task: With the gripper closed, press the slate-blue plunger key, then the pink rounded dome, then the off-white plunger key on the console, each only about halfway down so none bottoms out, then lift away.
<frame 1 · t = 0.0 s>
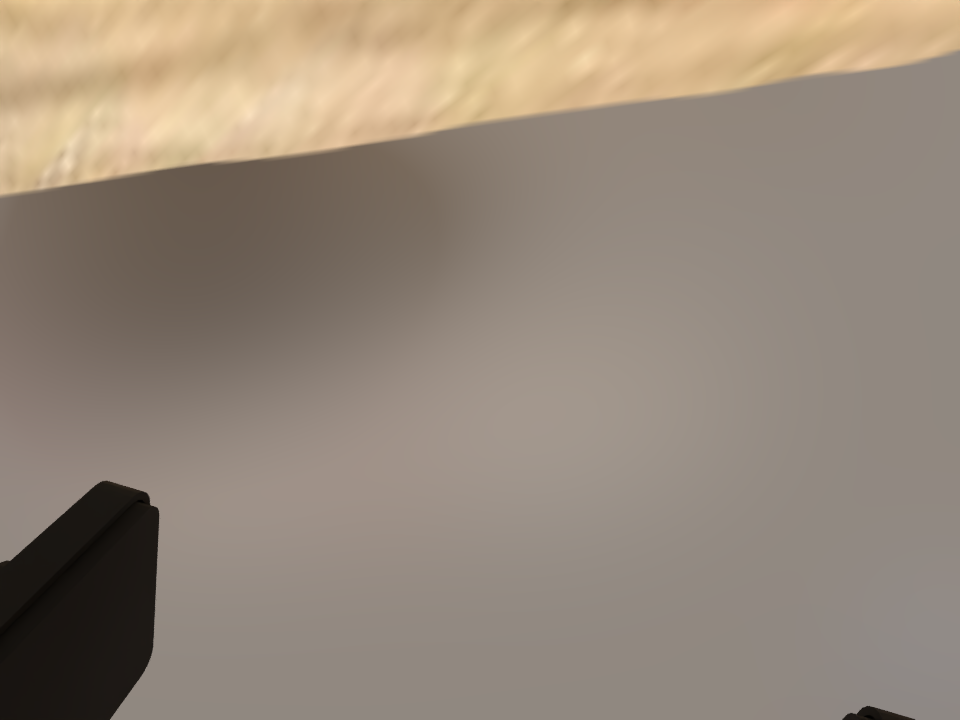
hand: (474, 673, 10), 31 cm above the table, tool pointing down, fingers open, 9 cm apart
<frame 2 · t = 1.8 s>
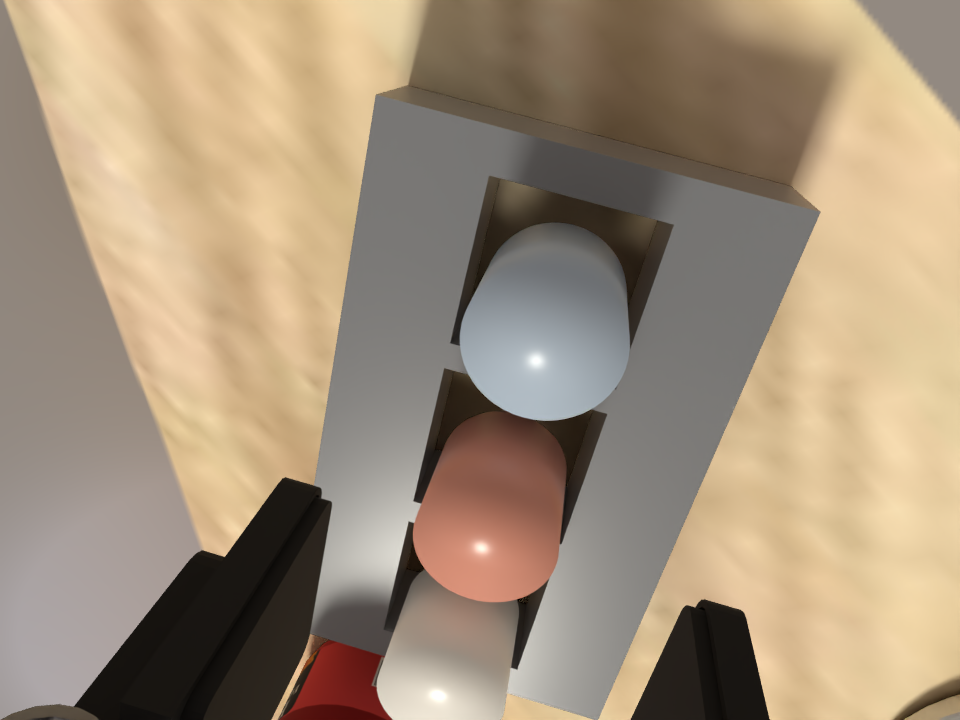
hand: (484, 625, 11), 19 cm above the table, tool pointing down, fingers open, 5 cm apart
pink rounded dome: (494, 502, 25), point 7 cm above the table, slide at 0.0 cm
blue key: (549, 316, 22), point 7 cm above the table, slide at 0.0 cm
white key: (452, 648, 28), point 7 cm above the table, slide at 0.0 cm
canned food: (380, 679, 39), on the table
console: (517, 410, 31), on the table
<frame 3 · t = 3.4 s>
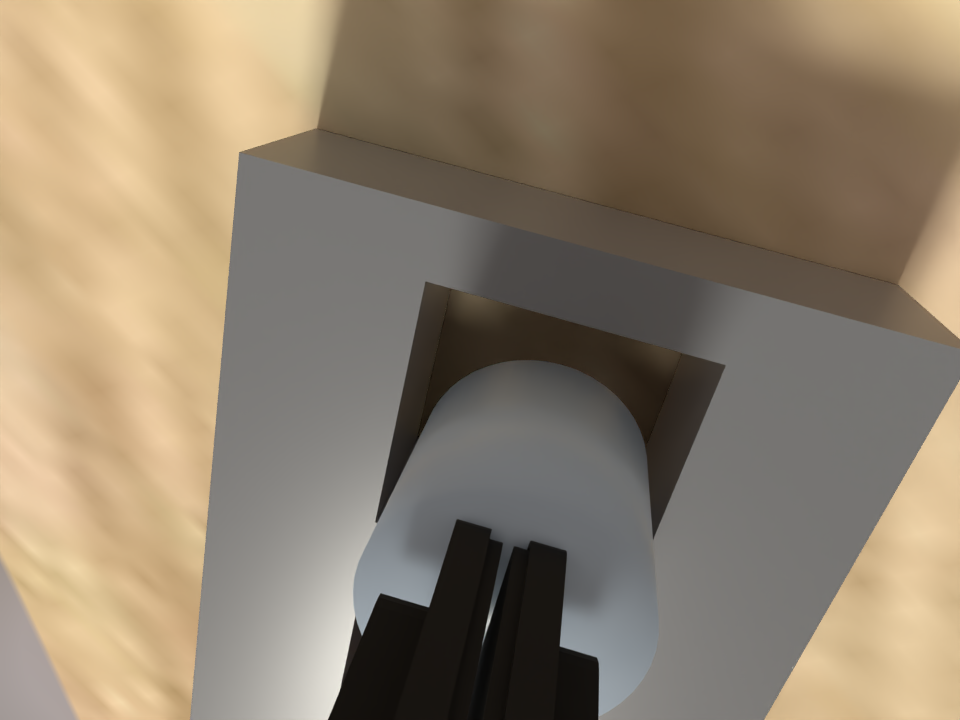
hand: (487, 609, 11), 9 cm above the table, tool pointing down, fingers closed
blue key: (518, 529, 13), point 7 cm above the table, slide at 0.0 cm, touching gripper
console: (487, 576, 22), on the table
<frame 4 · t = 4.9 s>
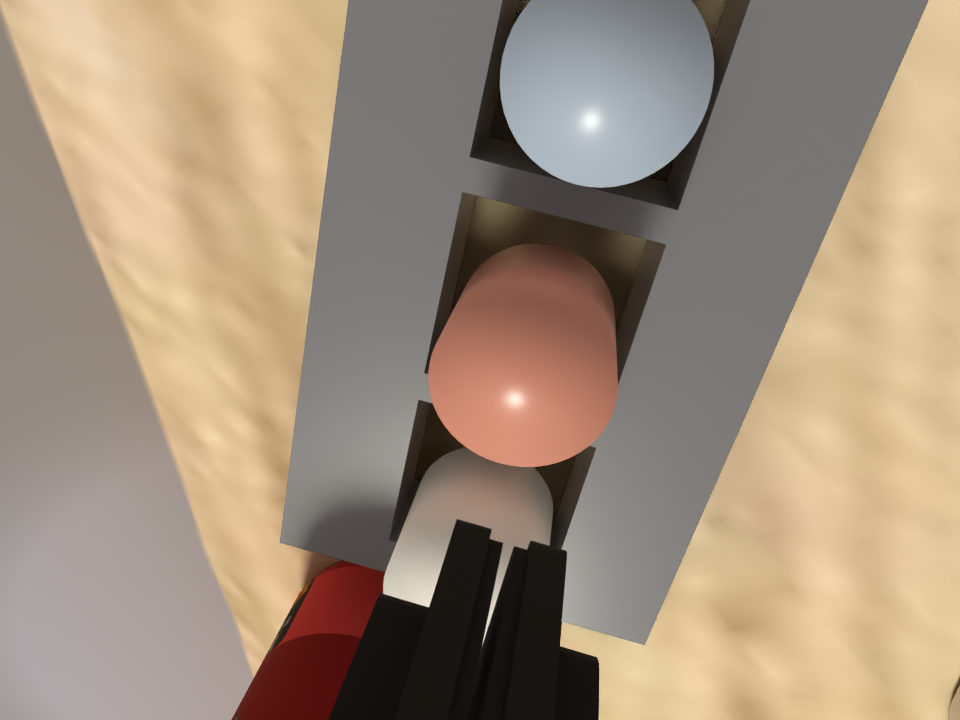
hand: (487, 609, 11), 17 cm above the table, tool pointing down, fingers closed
pink rounded dome: (529, 348, 20), point 7 cm above the table, slide at 0.0 cm
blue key: (604, 74, 18), point 5 cm above the table, slide at 1.4 cm
white key: (474, 547, 23), point 7 cm above the table, slide at 0.0 cm
canned food: (384, 615, 34), on the table
console: (546, 272, 26), on the table
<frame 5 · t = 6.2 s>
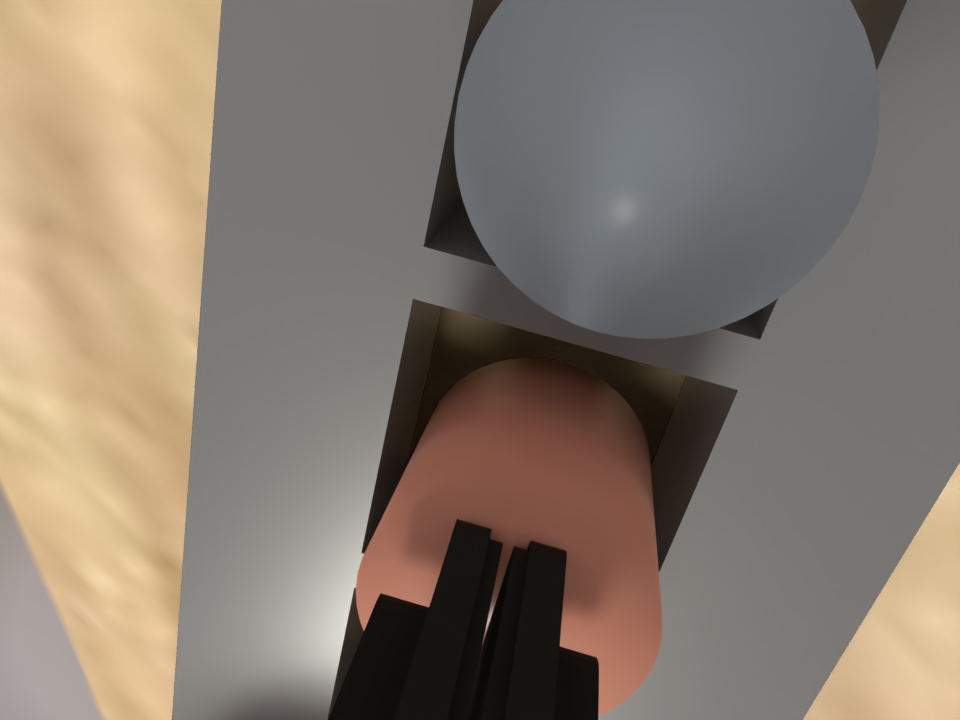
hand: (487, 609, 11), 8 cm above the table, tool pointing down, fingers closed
pink rounded dome: (521, 527, 13), point 6 cm above the table, slide at 1.2 cm
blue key: (648, 125, 10), point 5 cm above the table, slide at 1.4 cm
console: (548, 390, 18), on the table
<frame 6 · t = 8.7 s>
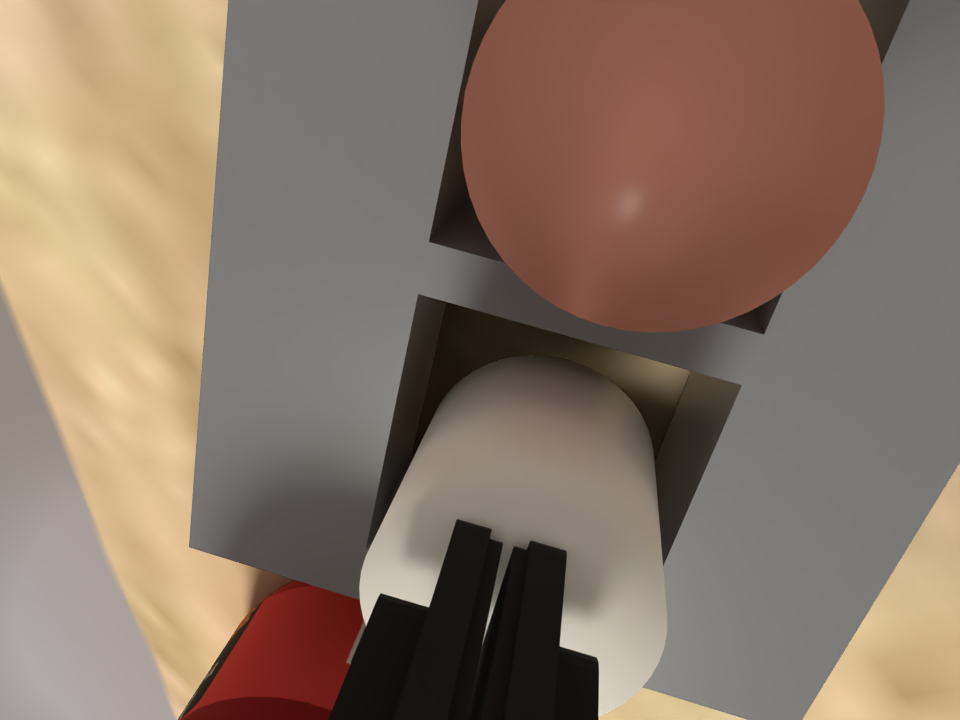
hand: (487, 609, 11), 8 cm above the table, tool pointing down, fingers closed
pink rounded dome: (653, 120, 10), point 5 cm above the table, slide at 1.4 cm
white key: (525, 525, 13), point 6 cm above the table, slide at 1.1 cm, touching gripper
canned food: (367, 658, 23), on the table
console: (642, 92, 15), on the table
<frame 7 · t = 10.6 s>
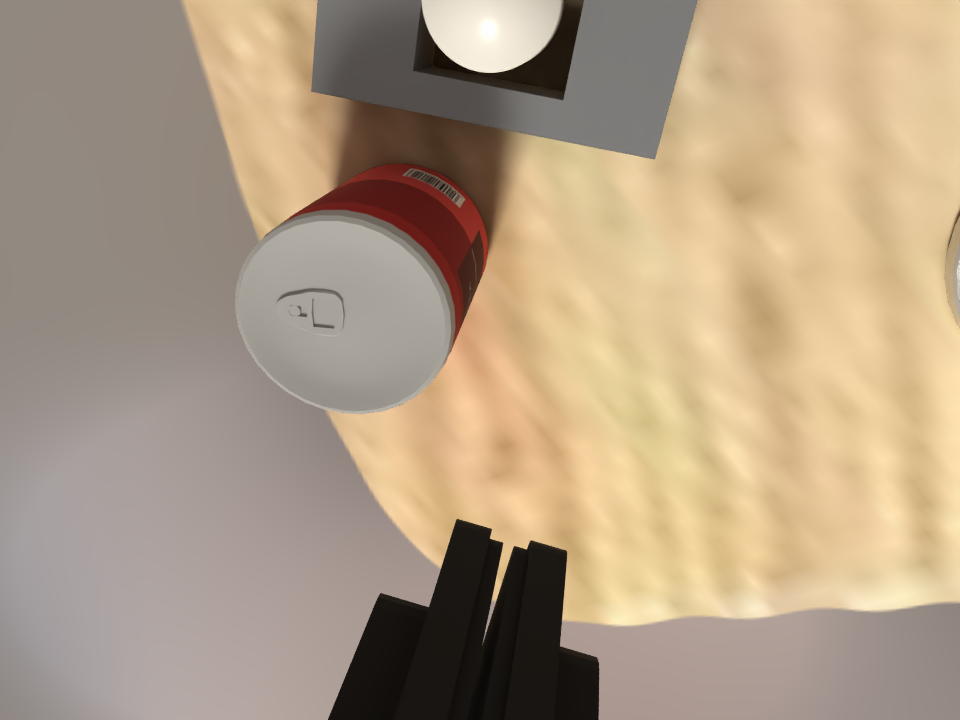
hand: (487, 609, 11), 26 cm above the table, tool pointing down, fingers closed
white key: (497, 0, 26), point 5 cm above the table, slide at 1.4 cm
canned food: (410, 239, 36), on the table
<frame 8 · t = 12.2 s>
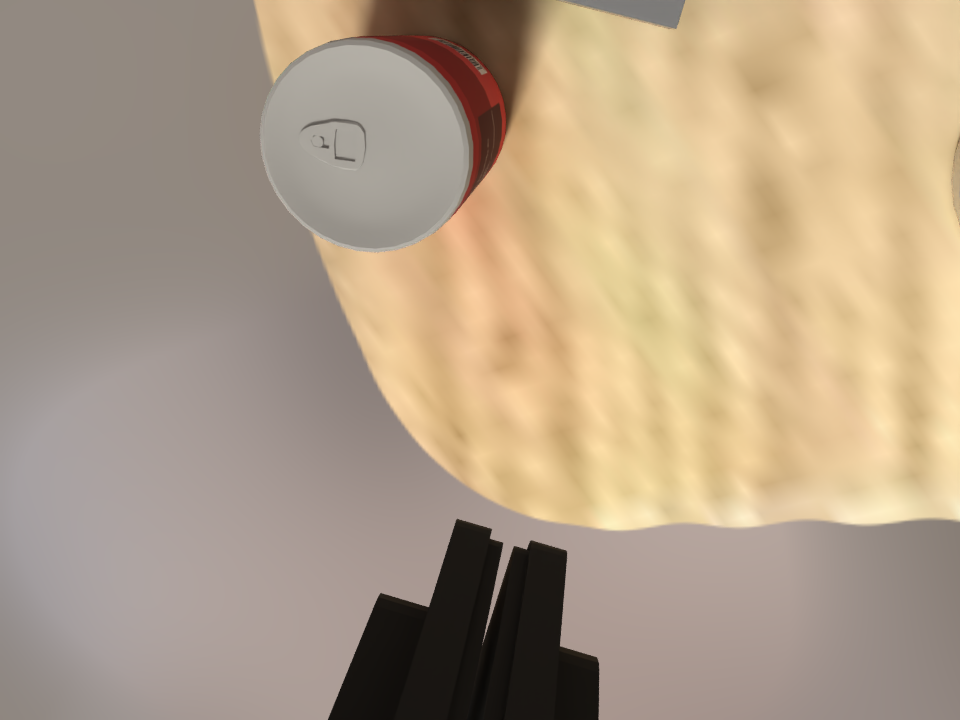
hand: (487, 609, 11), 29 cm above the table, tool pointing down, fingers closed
canned food: (429, 118, 37), on the table
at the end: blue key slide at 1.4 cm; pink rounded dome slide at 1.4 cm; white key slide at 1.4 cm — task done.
